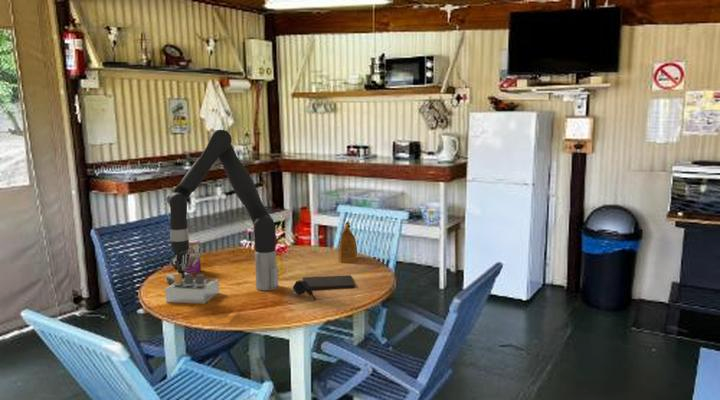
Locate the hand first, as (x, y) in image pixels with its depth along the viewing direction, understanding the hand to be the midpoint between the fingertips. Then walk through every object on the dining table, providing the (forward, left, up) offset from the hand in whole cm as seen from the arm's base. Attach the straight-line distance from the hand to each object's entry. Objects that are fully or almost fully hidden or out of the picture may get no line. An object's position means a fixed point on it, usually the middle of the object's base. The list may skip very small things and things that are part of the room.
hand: (181, 278), depth 235 cm
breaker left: (-10, +4, -2) cm, 11 cm away
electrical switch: (+8, -17, -8) cm, 20 cm away
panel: (-5, +1, -8) cm, 10 cm away
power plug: (-57, -3, -10) cm, 58 cm away
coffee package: (-62, -64, -8) cm, 89 cm away
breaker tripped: (0, +3, -2) cm, 4 cm away
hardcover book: (-59, -25, -9) cm, 65 cm away
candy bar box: (+14, -35, -8) cm, 38 cm away
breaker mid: (-5, +4, -2) cm, 6 cm away
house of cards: (+29, -47, -9) cm, 56 cm away
